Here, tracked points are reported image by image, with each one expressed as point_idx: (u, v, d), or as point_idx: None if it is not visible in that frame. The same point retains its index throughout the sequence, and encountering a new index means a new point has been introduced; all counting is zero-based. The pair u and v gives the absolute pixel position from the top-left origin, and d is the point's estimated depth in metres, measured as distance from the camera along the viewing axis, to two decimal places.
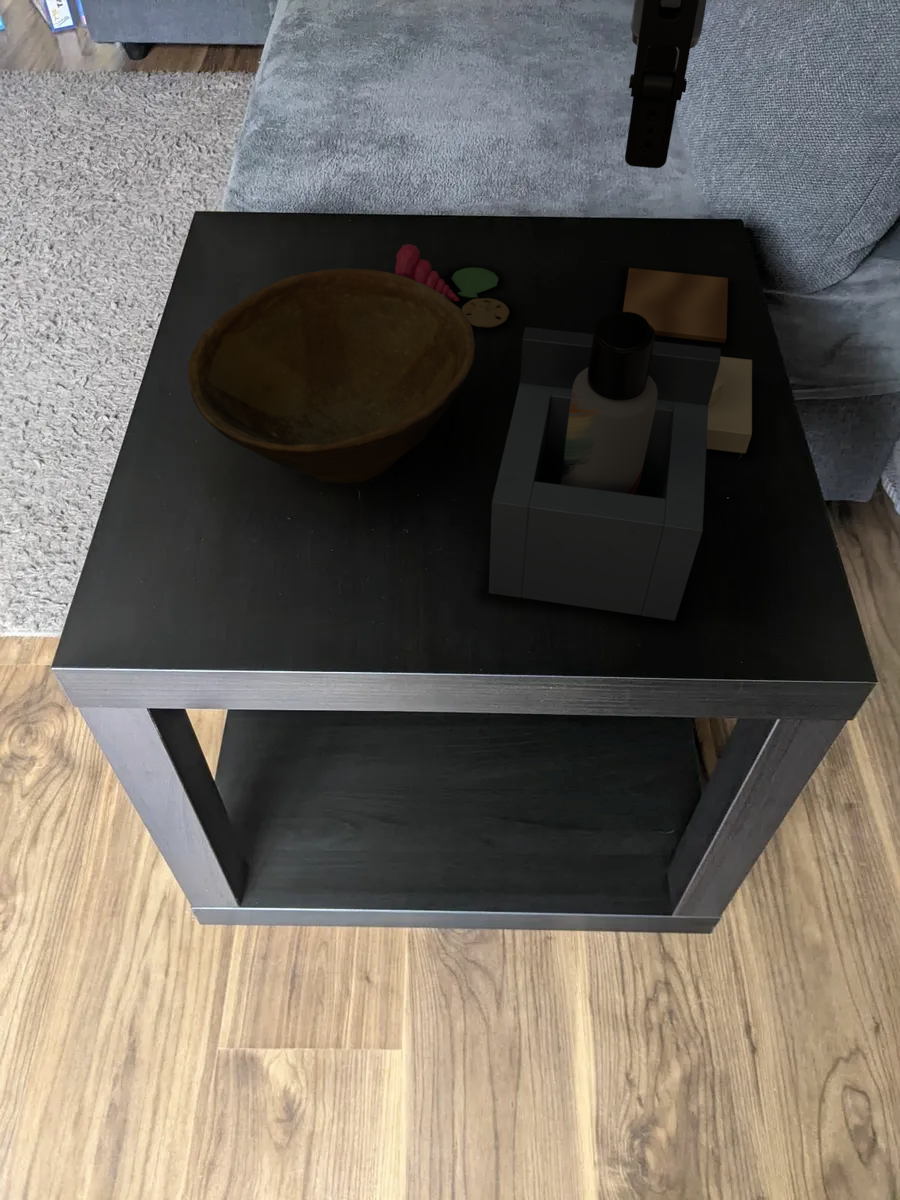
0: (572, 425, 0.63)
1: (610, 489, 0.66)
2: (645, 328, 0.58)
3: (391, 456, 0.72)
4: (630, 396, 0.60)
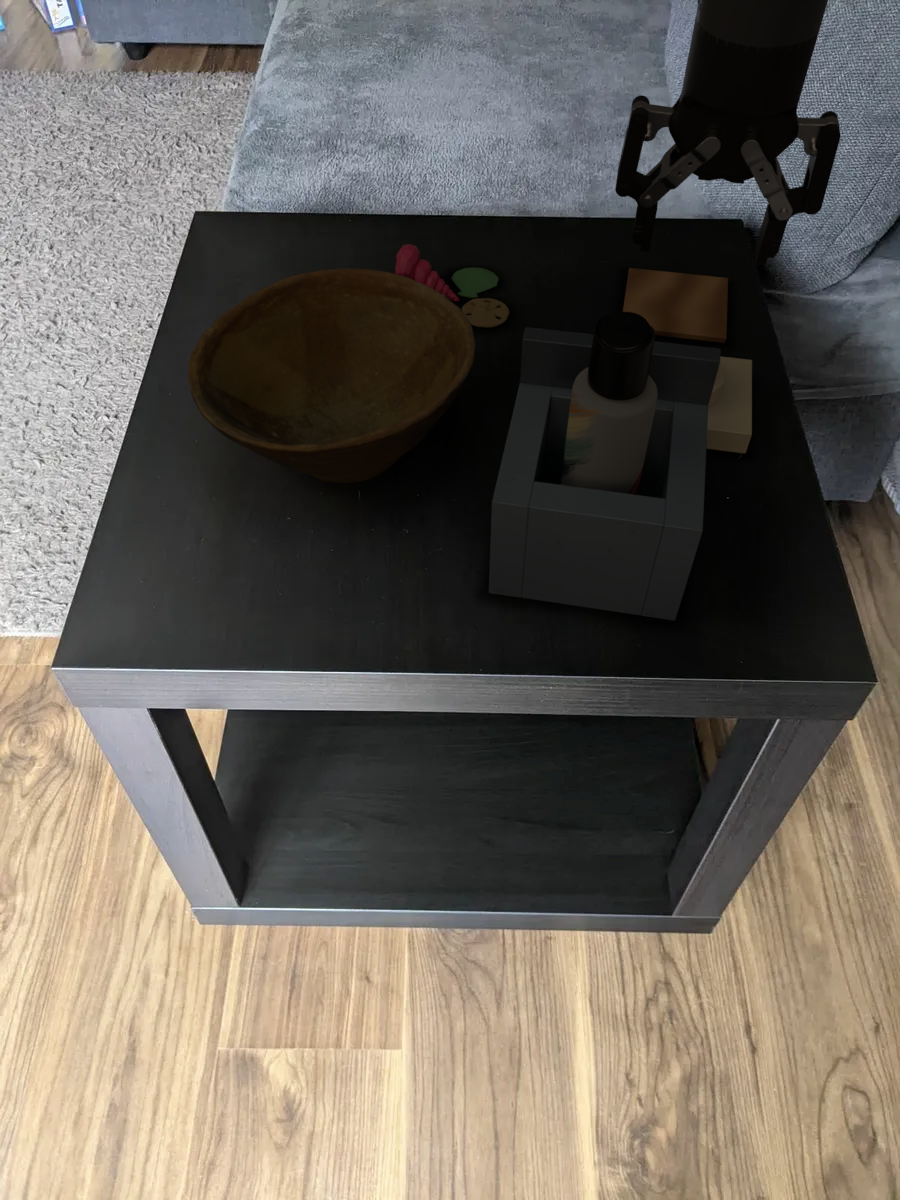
0: (572, 425, 0.63)
1: (610, 489, 0.66)
2: (645, 328, 0.58)
3: (391, 456, 0.72)
4: (630, 396, 0.60)
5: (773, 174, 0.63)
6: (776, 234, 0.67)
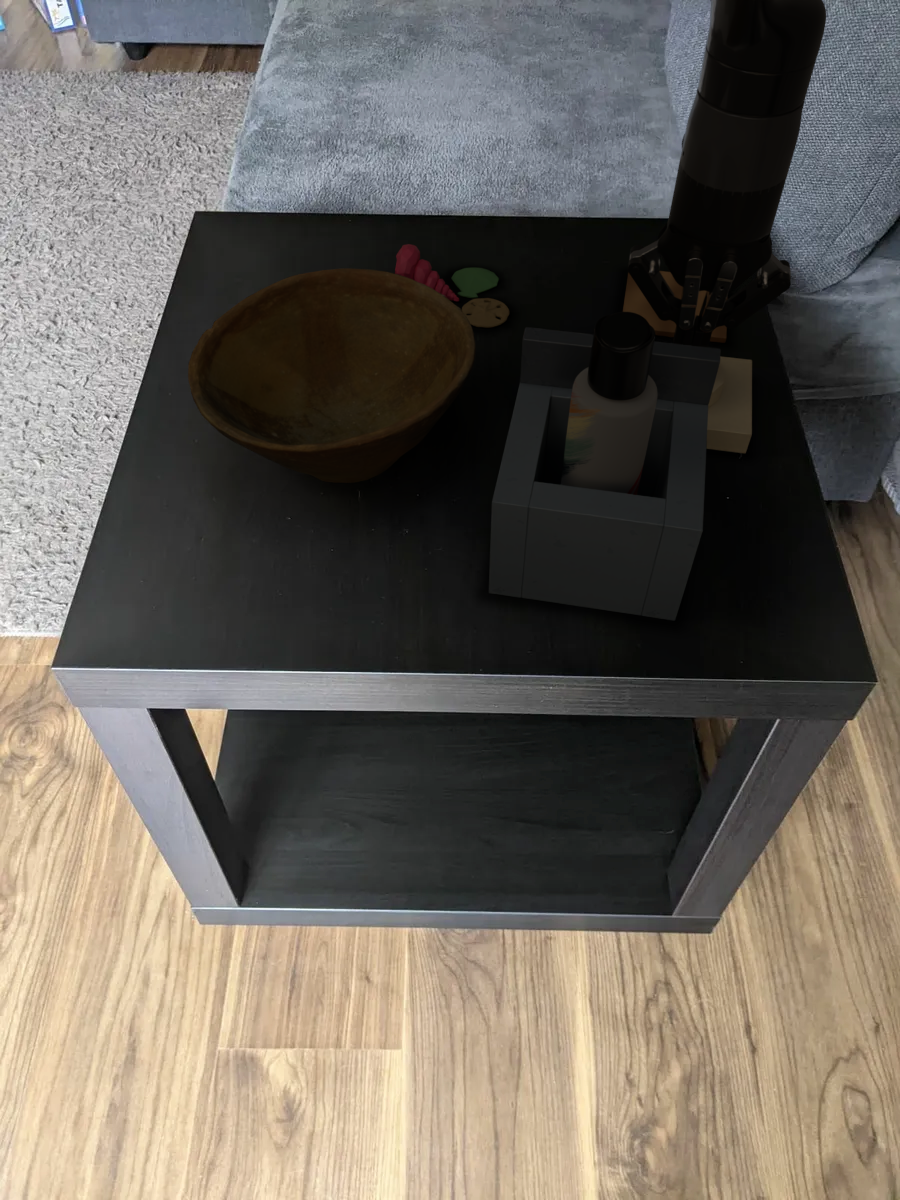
0: (572, 425, 0.63)
1: (610, 489, 0.66)
2: (645, 328, 0.58)
3: (391, 456, 0.72)
4: (630, 396, 0.60)
5: (726, 296, 0.72)
6: (703, 342, 0.77)
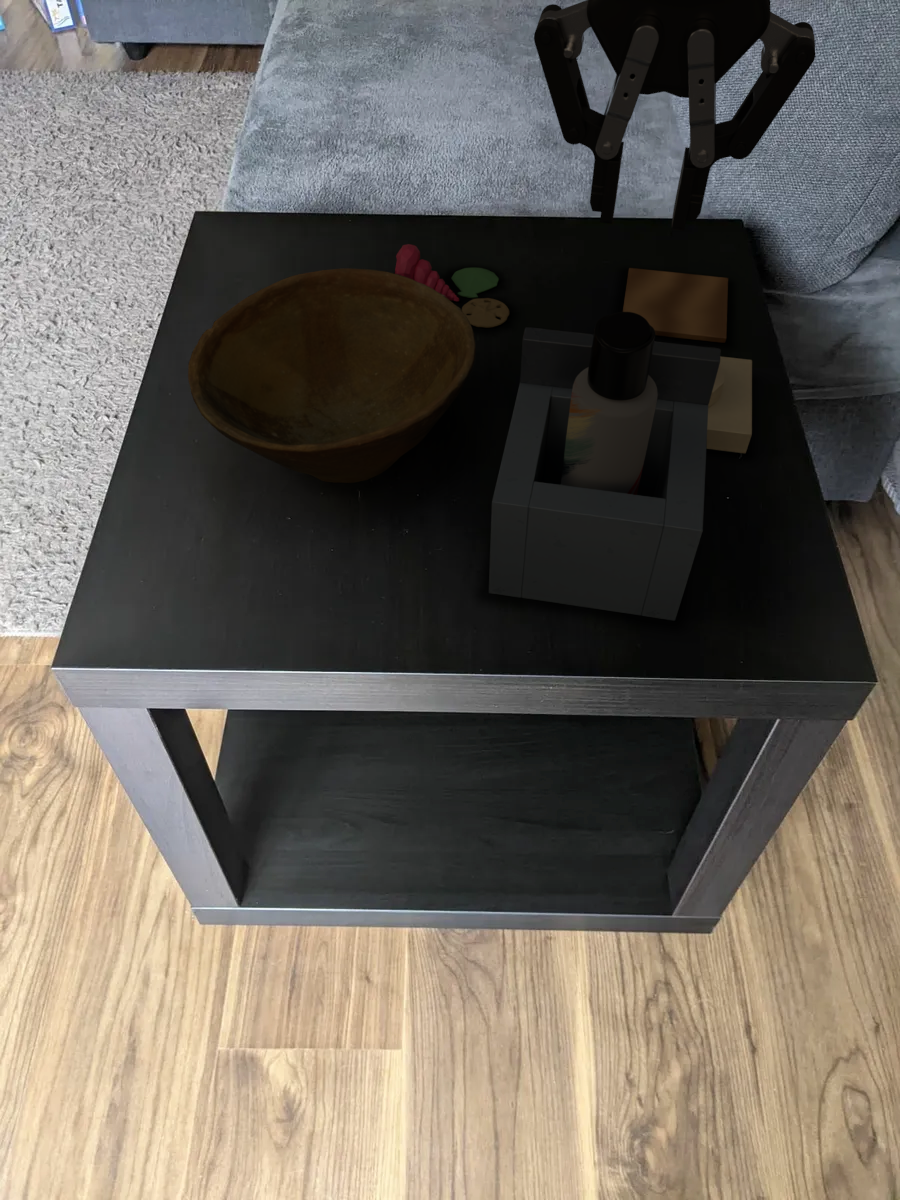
0: (572, 425, 0.63)
1: (610, 489, 0.66)
2: (645, 328, 0.58)
3: (391, 456, 0.72)
4: (630, 396, 0.60)
5: (713, 95, 0.45)
6: (696, 188, 0.50)
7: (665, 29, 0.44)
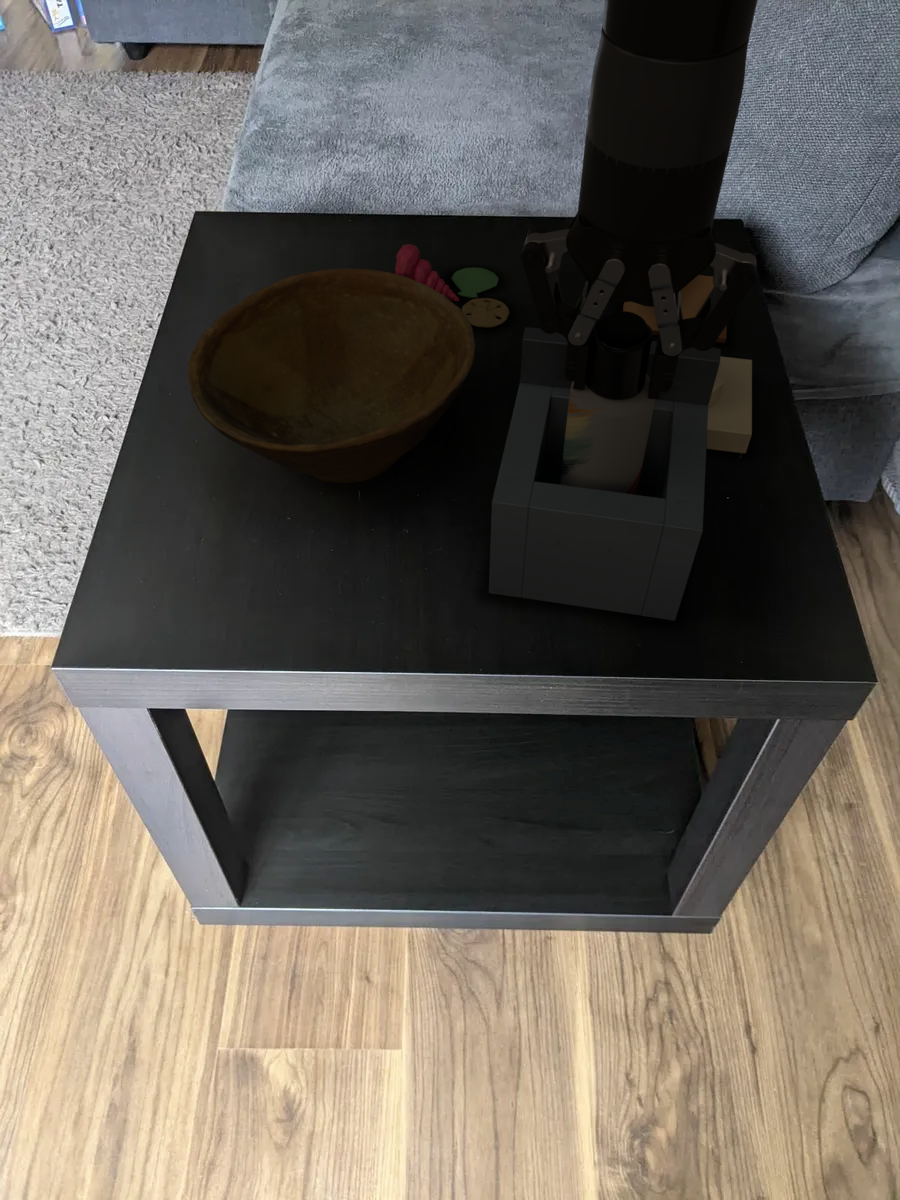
0: (570, 425, 0.63)
1: (609, 489, 0.65)
2: (643, 327, 0.58)
3: (391, 456, 0.72)
4: (628, 395, 0.60)
5: (674, 307, 0.54)
6: (667, 368, 0.59)
7: (630, 259, 0.53)
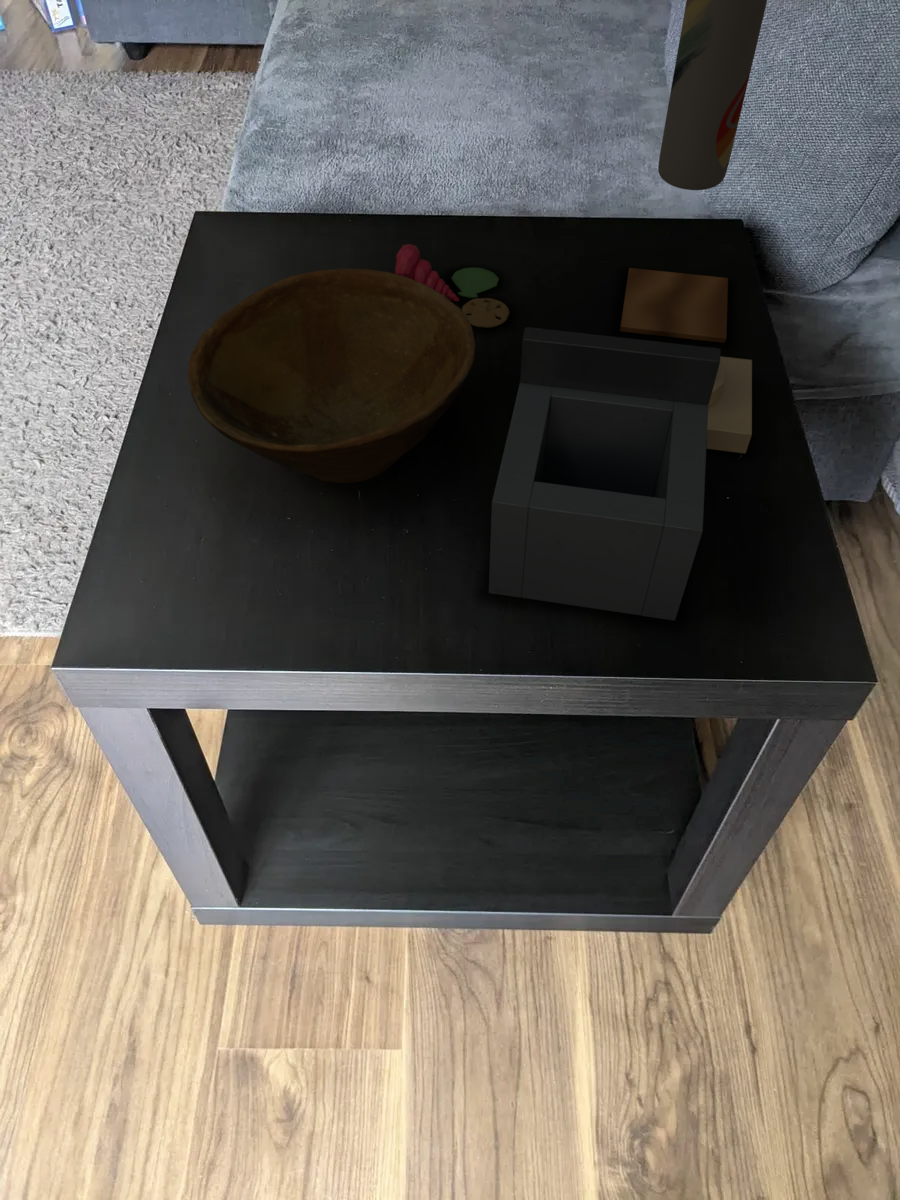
0: (690, 12, 0.68)
1: (722, 85, 0.70)
2: None
3: (391, 456, 0.72)
4: None
5: None
6: None
7: None
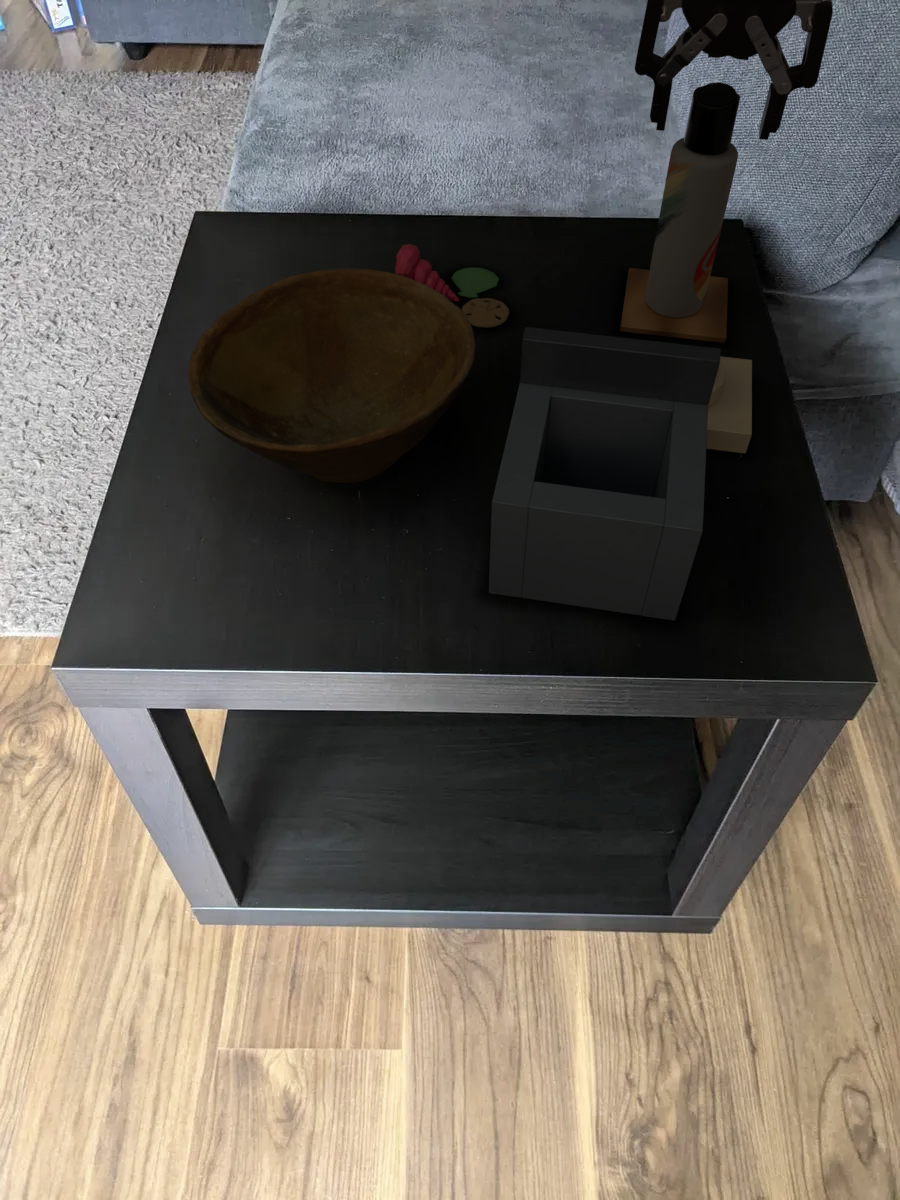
0: (670, 183, 0.81)
1: (697, 240, 0.83)
2: (732, 92, 0.76)
3: (391, 456, 0.72)
4: (718, 151, 0.78)
5: (774, 49, 0.71)
6: (777, 109, 0.76)
7: (731, 16, 0.71)
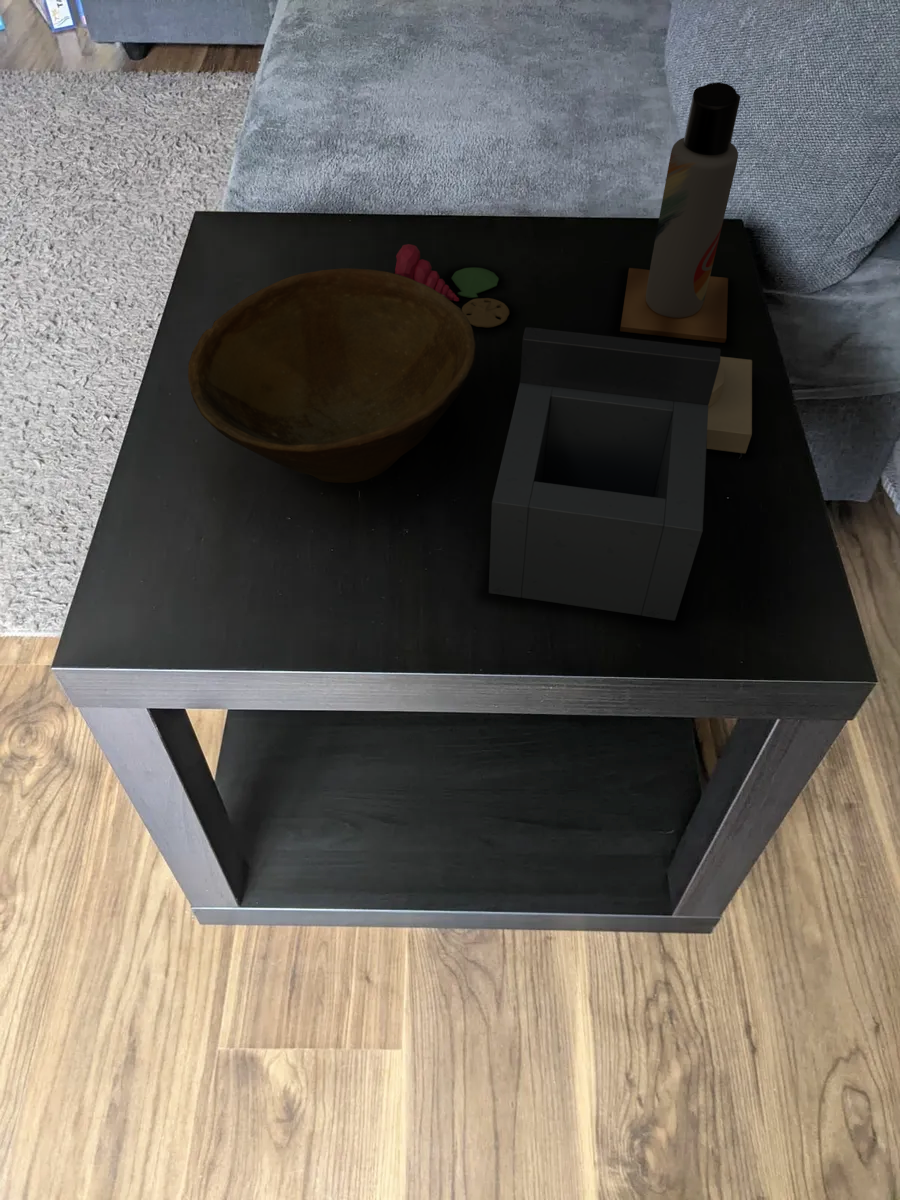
0: (670, 183, 0.81)
1: (697, 240, 0.83)
2: (733, 92, 0.76)
3: (391, 456, 0.72)
4: (718, 151, 0.78)
5: None
6: None
7: None
